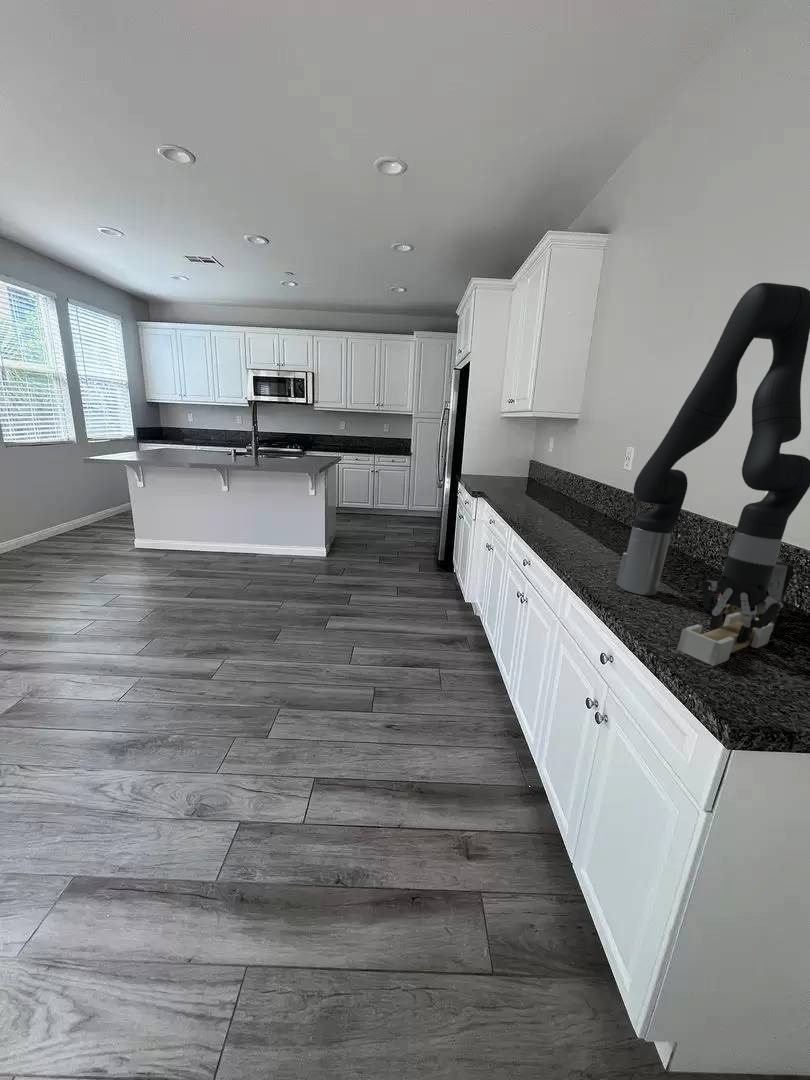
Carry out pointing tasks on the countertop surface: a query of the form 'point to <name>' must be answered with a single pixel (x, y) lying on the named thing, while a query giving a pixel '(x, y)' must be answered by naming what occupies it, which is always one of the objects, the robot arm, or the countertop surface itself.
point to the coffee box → (772, 589)
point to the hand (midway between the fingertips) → (727, 637)
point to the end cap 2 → (760, 634)
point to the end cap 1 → (704, 646)
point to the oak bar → (730, 635)
